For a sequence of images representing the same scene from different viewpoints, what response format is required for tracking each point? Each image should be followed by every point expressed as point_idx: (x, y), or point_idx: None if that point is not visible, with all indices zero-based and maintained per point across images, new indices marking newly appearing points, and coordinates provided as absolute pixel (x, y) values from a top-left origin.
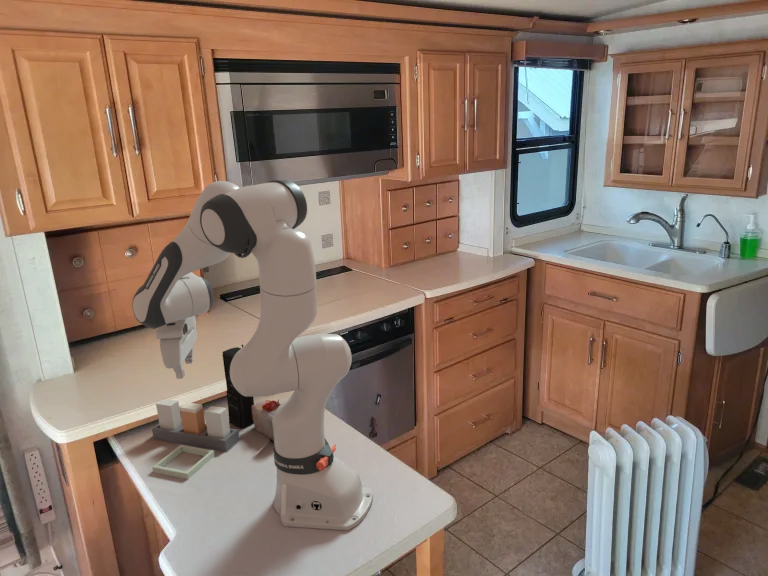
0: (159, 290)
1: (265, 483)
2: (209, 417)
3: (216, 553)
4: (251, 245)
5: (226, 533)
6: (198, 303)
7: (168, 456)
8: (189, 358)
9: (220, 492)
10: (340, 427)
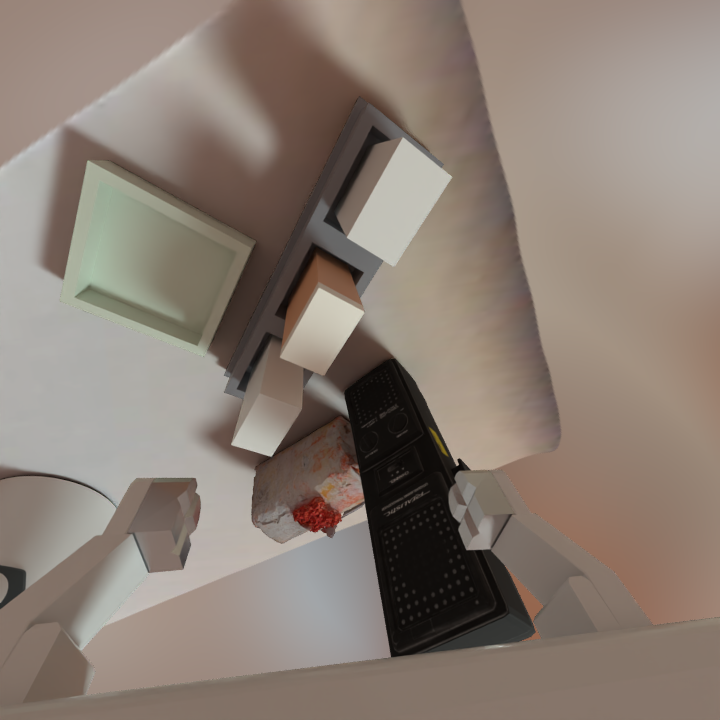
0: None
1: (102, 453)
2: (255, 392)
3: None
4: None
5: None
6: None
7: (168, 215)
8: (468, 532)
9: (47, 375)
10: (312, 537)
